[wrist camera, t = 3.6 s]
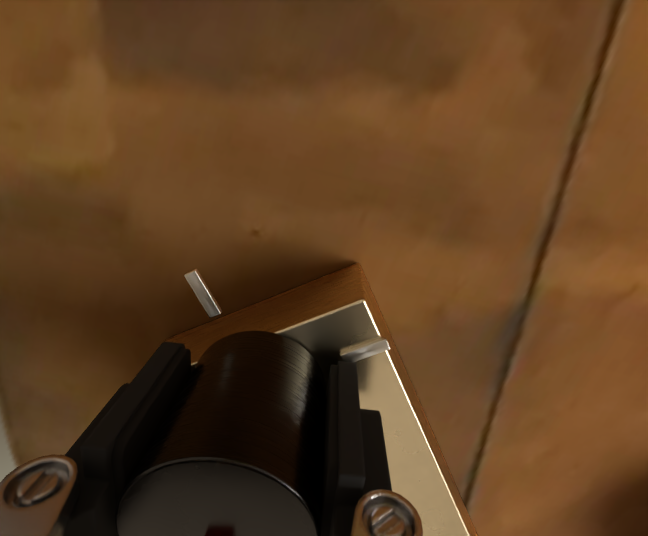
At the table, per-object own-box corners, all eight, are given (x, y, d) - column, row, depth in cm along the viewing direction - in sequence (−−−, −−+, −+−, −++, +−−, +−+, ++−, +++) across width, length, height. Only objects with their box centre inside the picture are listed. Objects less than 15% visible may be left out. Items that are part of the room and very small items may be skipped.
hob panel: (123, 282, 14) (66, 325, 11) (331, 191, 13) (330, 212, 10) (344, 612, 20) (345, 695, 17) (497, 576, 19) (527, 660, 16)
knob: (186, 328, 11) (82, 471, 7) (326, 330, 11) (318, 476, 6) (202, 437, 12) (126, 615, 8) (326, 440, 12) (320, 623, 8)
